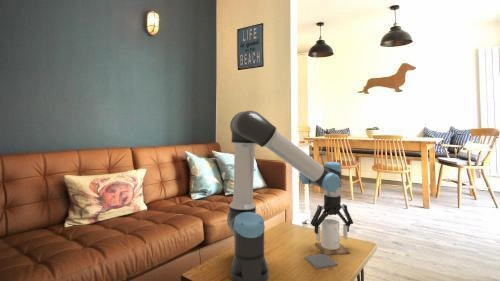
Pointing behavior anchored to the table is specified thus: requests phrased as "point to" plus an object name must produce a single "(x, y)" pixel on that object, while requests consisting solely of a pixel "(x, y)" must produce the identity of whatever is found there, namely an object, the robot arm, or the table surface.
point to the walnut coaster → (333, 252)
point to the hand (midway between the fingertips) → (331, 239)
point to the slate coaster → (321, 261)
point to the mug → (330, 234)
